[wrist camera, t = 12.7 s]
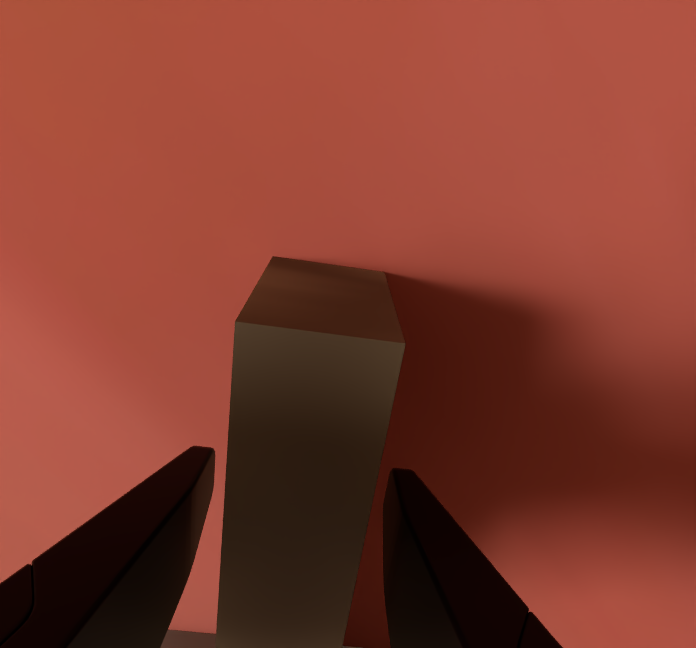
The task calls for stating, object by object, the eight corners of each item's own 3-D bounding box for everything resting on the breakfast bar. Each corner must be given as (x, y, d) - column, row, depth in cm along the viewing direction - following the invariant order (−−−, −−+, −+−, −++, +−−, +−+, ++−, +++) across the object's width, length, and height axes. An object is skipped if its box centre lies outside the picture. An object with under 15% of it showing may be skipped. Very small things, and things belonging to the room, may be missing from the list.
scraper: (53, 647, 15) (-43, 817, 11) (-3, 215, 10) (-211, 263, 6) (484, 684, 16) (528, 853, 12) (634, 303, 11) (787, 393, 7)
